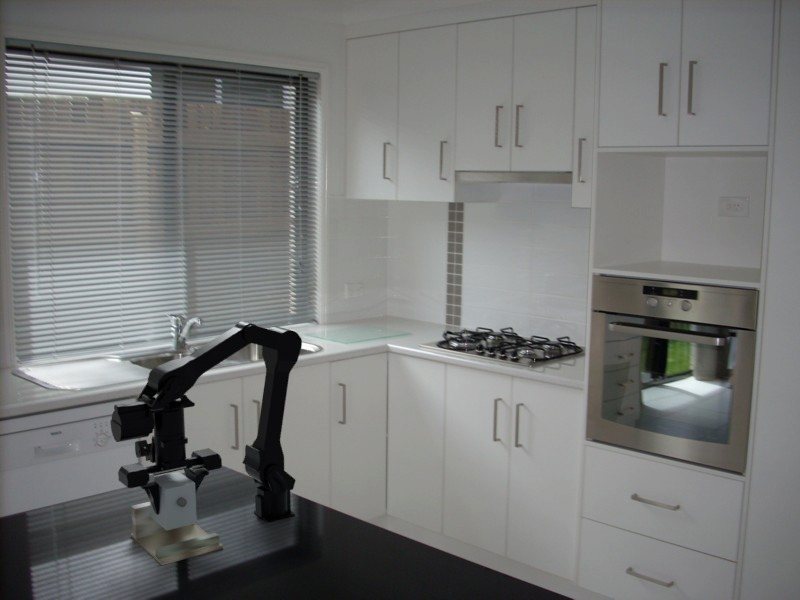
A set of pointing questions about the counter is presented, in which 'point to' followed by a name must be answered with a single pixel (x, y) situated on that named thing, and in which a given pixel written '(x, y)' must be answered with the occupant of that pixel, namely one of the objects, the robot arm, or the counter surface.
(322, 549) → the counter surface
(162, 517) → the cabinet block
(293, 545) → the counter surface
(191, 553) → the cleat board
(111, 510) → the counter surface
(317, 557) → the counter surface
